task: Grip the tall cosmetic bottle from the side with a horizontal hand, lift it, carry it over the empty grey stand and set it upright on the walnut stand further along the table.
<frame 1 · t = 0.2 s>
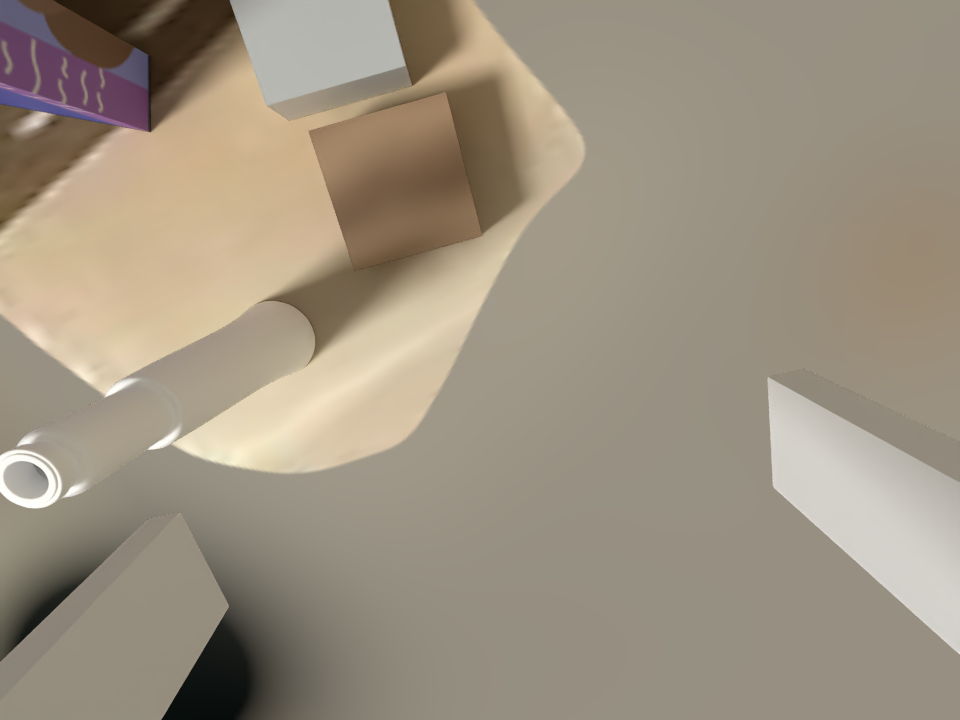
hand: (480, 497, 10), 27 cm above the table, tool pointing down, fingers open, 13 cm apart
cosmetic bottle: (278, 338, 37), on the table
grey stand: (328, 31, 32), on the table
cereal box: (18, 69, 32), on the table
walnut stand: (405, 190, 34), on the table
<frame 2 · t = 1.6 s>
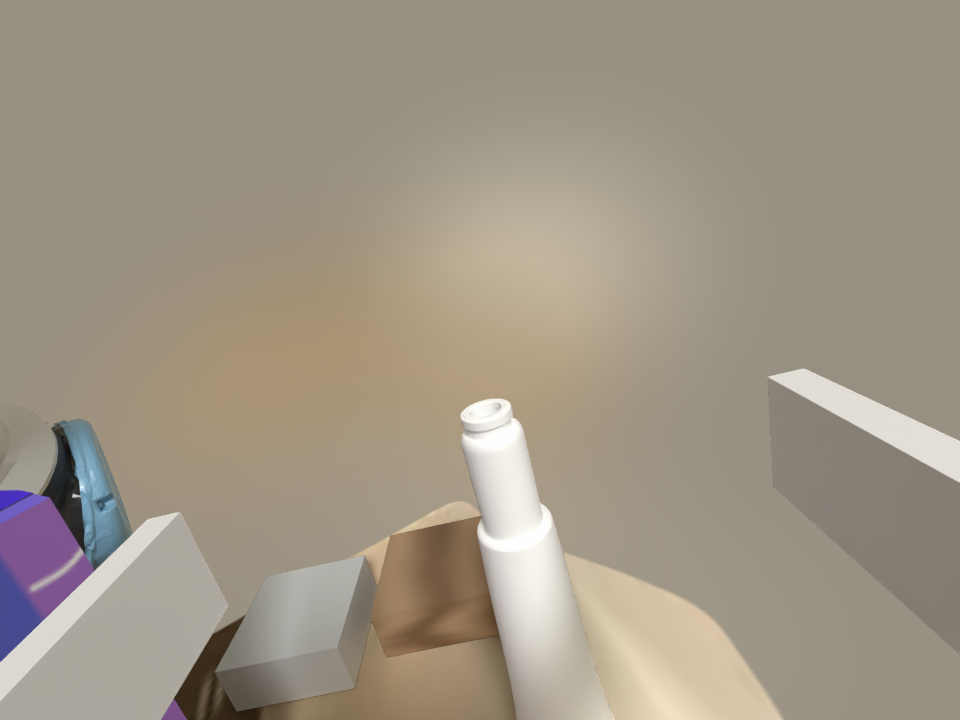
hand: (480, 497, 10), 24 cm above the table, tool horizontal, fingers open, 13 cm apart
grey stand: (315, 644, 38), on the table
walnut stand: (446, 598, 39), on the table
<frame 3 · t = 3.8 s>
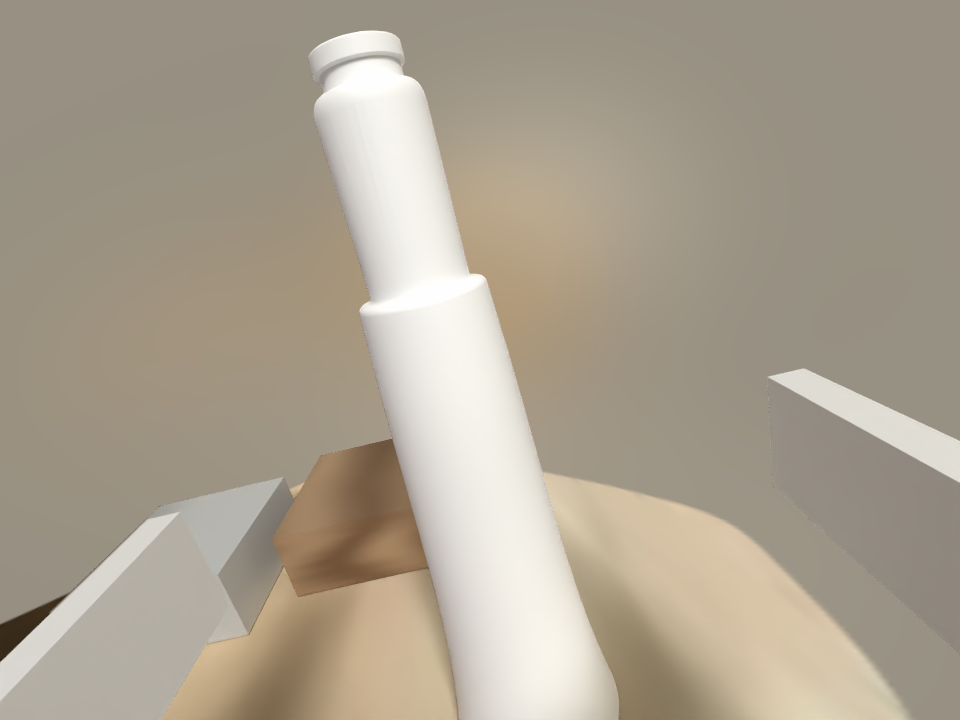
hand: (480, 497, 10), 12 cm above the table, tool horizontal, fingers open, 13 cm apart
cosmetic bottle: (538, 706, 18), on the table
grey stand: (211, 587, 29), on the table
walnut stand: (387, 527, 30), on the table
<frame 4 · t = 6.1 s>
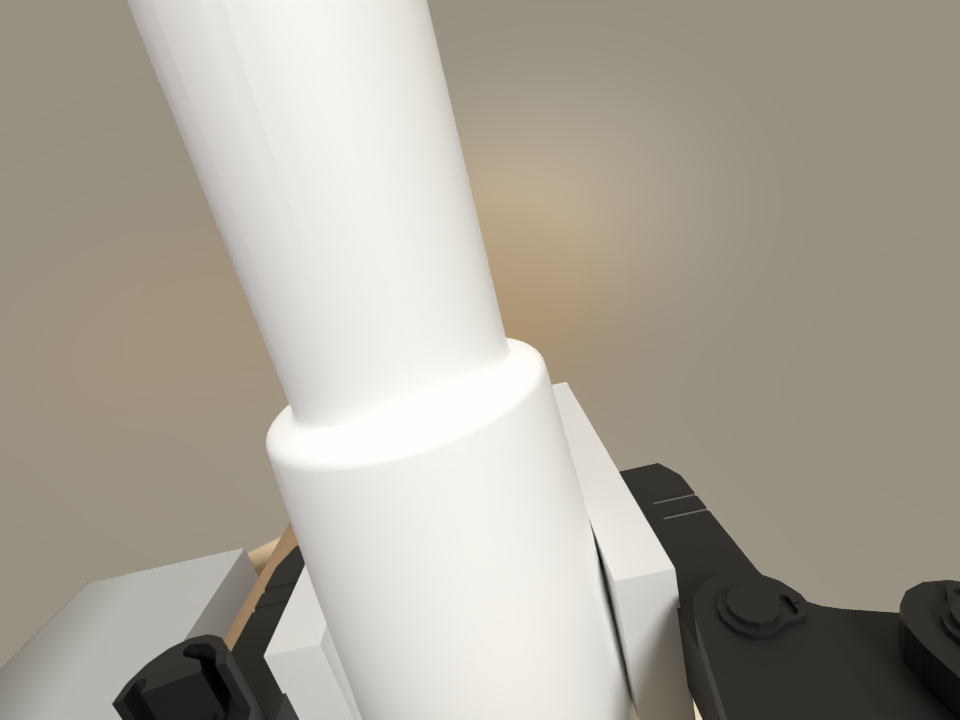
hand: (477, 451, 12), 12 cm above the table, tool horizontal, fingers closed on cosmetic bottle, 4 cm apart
grey stand: (144, 700, 22), on the table
walnut stand: (374, 617, 24), on the table
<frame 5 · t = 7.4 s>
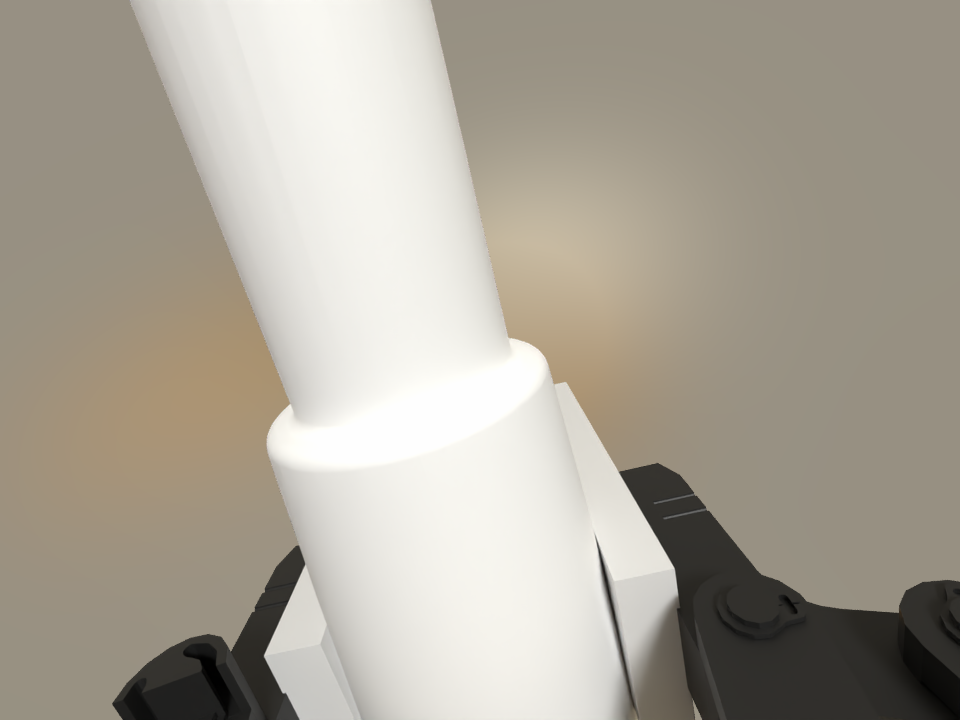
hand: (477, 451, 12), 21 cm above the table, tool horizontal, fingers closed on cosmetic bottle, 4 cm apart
when the fingers open (17 cm above the table, at t = 8.9 s): cosmetic bottle drops 1 cm, resting on walnut stand.
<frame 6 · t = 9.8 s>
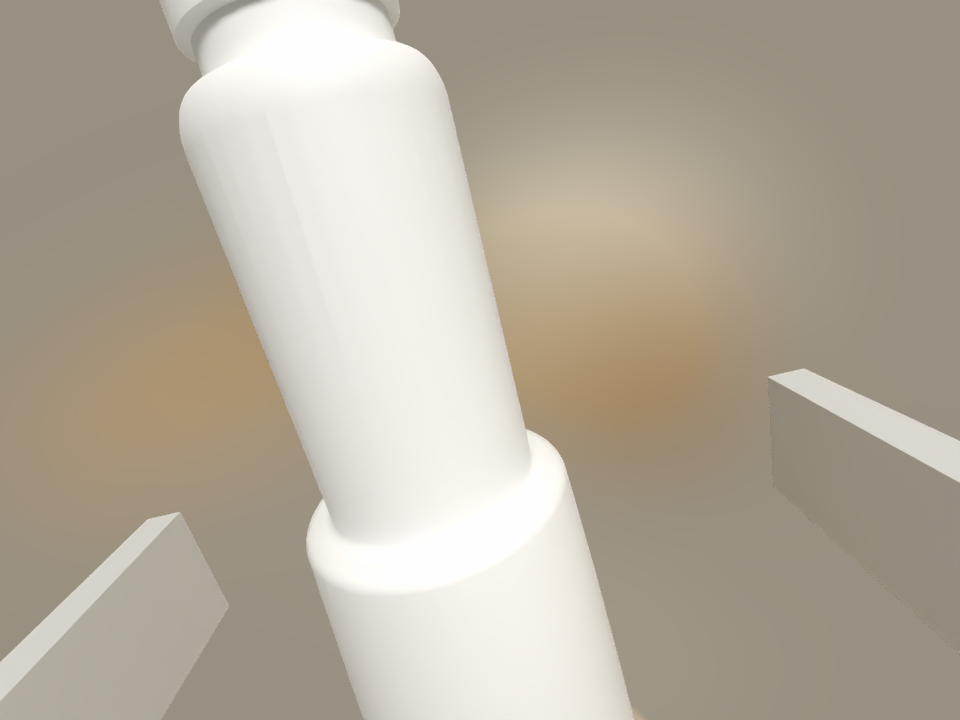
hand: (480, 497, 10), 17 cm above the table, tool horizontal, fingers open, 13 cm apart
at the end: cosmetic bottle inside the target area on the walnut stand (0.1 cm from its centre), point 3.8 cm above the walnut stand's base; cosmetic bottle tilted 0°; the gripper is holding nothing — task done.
